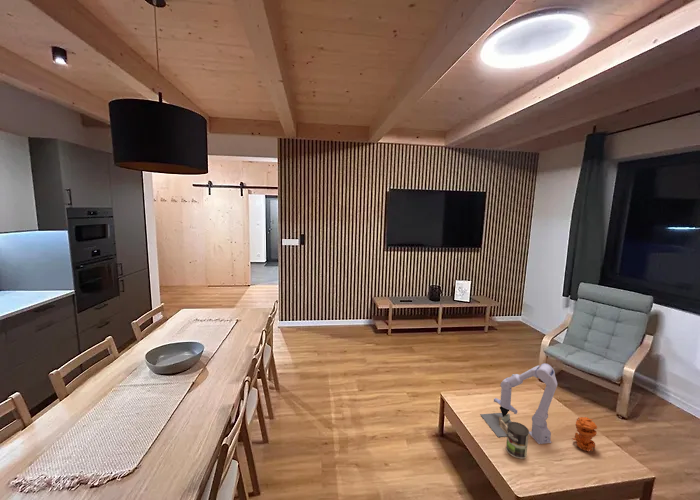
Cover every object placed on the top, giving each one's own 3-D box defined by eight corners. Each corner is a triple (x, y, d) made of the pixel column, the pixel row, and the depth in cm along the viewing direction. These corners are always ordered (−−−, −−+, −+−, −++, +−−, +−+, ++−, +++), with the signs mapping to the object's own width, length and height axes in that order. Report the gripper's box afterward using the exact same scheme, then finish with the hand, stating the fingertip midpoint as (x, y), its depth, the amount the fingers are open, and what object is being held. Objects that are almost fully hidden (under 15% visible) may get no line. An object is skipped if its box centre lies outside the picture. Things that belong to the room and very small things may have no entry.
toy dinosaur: (586, 456, 165) (589, 426, 163) (567, 442, 175) (570, 413, 173) (601, 452, 168) (605, 422, 166) (582, 438, 178) (584, 409, 176)
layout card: (523, 435, 180) (523, 434, 180) (498, 437, 179) (498, 436, 179) (503, 413, 200) (503, 412, 200) (480, 415, 199) (480, 414, 199)
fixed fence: (510, 435, 180) (510, 427, 179) (507, 435, 180) (508, 427, 179) (500, 424, 189) (501, 416, 189) (498, 424, 189) (498, 416, 188)
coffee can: (517, 461, 162) (519, 436, 160) (501, 447, 171) (503, 424, 170) (531, 455, 165) (533, 432, 164) (515, 442, 175) (517, 419, 173)
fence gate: (502, 424, 188) (502, 419, 188) (500, 423, 189) (500, 418, 189) (510, 419, 193) (510, 414, 193) (508, 418, 194) (508, 413, 194)
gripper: (520, 402, 187) (519, 422, 189) (498, 390, 199) (497, 409, 201) (514, 405, 183) (512, 426, 185) (492, 393, 196) (490, 412, 197)
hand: (504, 417), depth 193 cm, fingers closed
